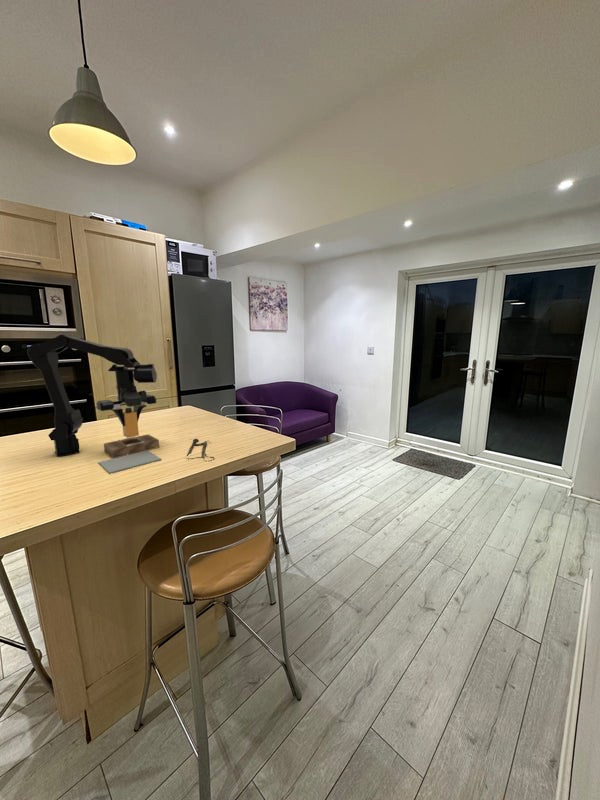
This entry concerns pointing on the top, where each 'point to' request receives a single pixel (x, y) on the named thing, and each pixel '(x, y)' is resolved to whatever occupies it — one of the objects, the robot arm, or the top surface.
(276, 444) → the top surface
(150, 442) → the socket block
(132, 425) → the plug
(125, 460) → the mat
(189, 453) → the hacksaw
